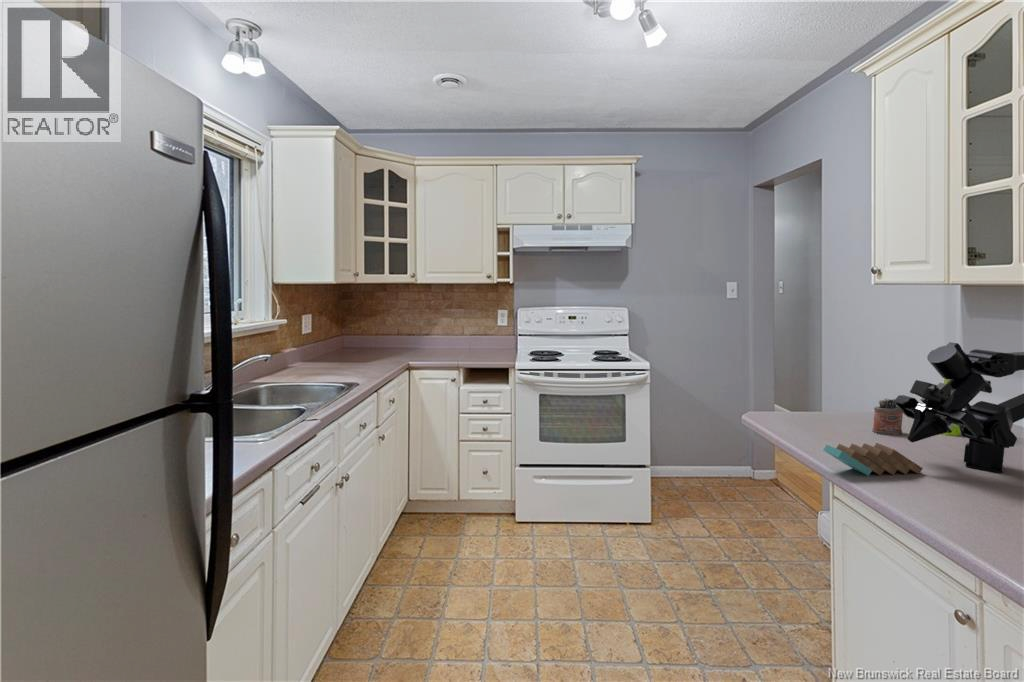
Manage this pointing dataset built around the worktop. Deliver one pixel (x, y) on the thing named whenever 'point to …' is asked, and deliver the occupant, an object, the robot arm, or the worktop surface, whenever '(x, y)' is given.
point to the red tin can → (887, 418)
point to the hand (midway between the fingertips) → (909, 440)
